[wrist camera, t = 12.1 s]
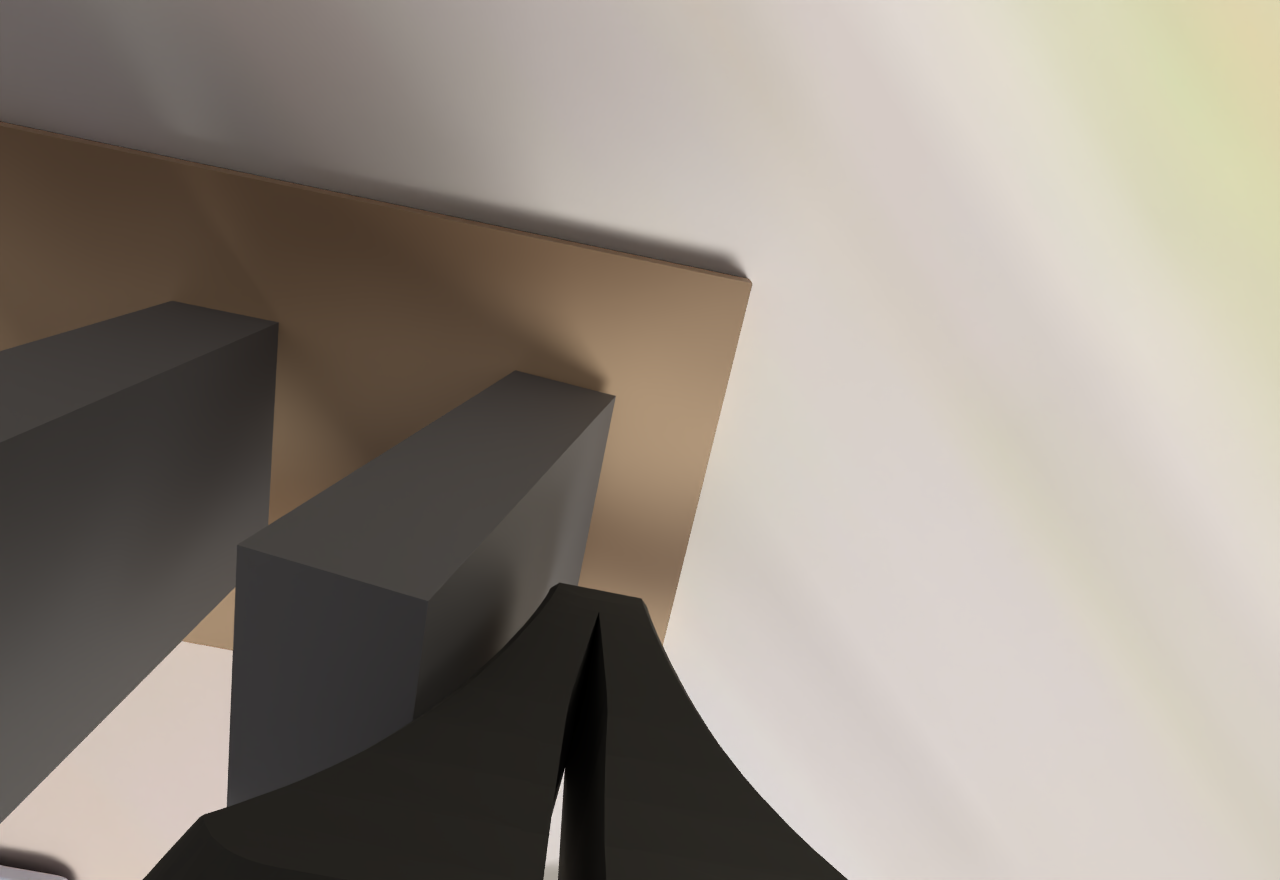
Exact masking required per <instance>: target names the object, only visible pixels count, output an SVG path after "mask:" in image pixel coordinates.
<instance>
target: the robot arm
mask: <svg viewBox="0 0 1280 880" xmlns="http://www.w3.org/2000/svg"><path fill="white" fill-rule="evenodd" d="M564 769H565V775H564V790H563V806H562V823H561V839H560V856H559V873H558V880H848V879H847V878H845V877H844V876H843V875H842V874H841V873H840V872H839V871H837V870H836V869H835V868H834V867H833V866H832V865H831V864H829V863H828V862H827V861H826V860H825V859H824V858H823V857H821V856H820V855H819V854H818V853H817V852H816V851H815V850H814V849H813V848H811V847H810V846H809V845H808V844H807V843H806V842H805V841H804V840H803V839H802V838H801V837H800V836H799V835H798V834H797V833H796V832H795V831H794V830H793V829H792V828H791V827H790V826H789V825H788V824H787V823H786V822H785V821H784V820H783V819H782V818H781V817H780V816H779V815H778V814H777V813H776V812H775V811H774V809H773V808H772V807H771V806H770V805H769V804H768V803H767V802H766V801H765V800H764V799H763V798H762V797H761V796H760V795H759V794H758V792H757V791H756V790H755V789H754V788H753V787H752V785H751V784H750V783H749V782H748V781H747V780H746V779H745V777H744V776H743V775H742V774H741V772H740V771H739V770H738V769H737V767H736V766H735V765H734V763H733V762H732V761H731V760H730V758H729V757H728V756H727V754H726V753H725V752H724V751H723V749H722V748H721V747H720V745H719V744H718V742H717V741H716V739H715V738H714V736H713V735H712V733H711V732H710V731H709V729H708V727H707V726H706V724H705V723H704V721H703V719H702V718H701V716H700V715H699V713H698V711H697V710H696V708H695V707H694V705H693V703H692V701H691V700H690V698H689V696H688V694H687V693H686V691H685V689H684V687H683V685H682V683H681V682H680V680H679V678H678V676H677V674H676V672H675V670H674V668H673V666H672V664H671V662H670V660H669V658H668V656H667V654H666V652H665V650H664V648H663V646H662V643H661V641H660V639H659V637H658V634H657V632H656V629H655V627H654V625H653V622H652V619H651V617H650V614H649V611H648V608H647V606H646V604H645V603H644V601H643V600H642V598H637V597H632V596H627V595H622V594H616V593H611V592H606V591H601V590H596V589H591V588H586V587H580V586H575V585H570V584H565V583H558V584H556V585H554V586H553V587H551V588H550V590H549V592H548V594H547V595H546V597H545V598H544V600H543V602H542V603H541V604H540V606H539V607H538V608H537V610H536V611H535V612H534V613H533V615H532V616H531V617H530V618H529V619H528V621H527V622H526V623H525V624H524V625H523V626H522V628H521V629H520V630H519V631H518V632H517V633H516V634H515V635H514V636H513V637H512V638H511V639H510V640H509V641H508V642H507V644H506V645H505V646H504V647H503V648H502V649H501V650H500V651H499V652H498V653H497V654H496V655H495V656H494V657H492V658H491V659H490V660H489V661H488V662H487V663H486V664H485V665H484V666H482V667H481V668H480V669H479V670H478V671H477V672H476V673H475V674H474V675H473V676H471V677H470V678H469V679H468V680H467V681H466V682H465V683H463V684H462V685H461V686H460V687H458V688H457V689H456V690H455V691H453V692H452V693H451V694H450V695H448V696H447V697H446V698H444V699H443V700H442V701H440V702H439V703H438V704H436V705H435V706H433V707H432V708H431V709H429V710H428V711H426V712H425V713H424V714H422V715H421V716H419V717H418V718H416V719H415V720H413V721H412V722H410V723H408V724H407V725H405V726H404V727H402V728H400V729H399V730H397V731H396V732H394V733H392V734H391V735H389V736H388V737H386V738H385V739H383V740H381V741H379V742H378V743H376V744H374V745H372V746H371V747H369V748H367V749H365V750H363V751H362V752H360V753H358V754H356V755H354V756H352V757H350V758H348V759H346V760H344V761H341V762H339V763H337V764H335V765H333V766H331V767H329V768H327V769H325V770H322V771H320V772H318V773H316V774H313V775H311V776H309V777H307V778H304V779H302V780H299V781H297V782H295V783H292V784H290V785H287V786H285V787H282V788H279V789H276V790H274V791H271V792H268V793H265V794H262V795H260V796H257V797H254V798H251V799H248V800H246V801H243V802H240V803H237V804H235V805H232V806H229V807H226V808H223V809H220V810H217V811H214V812H211V813H208V814H205V815H203V816H201V817H200V818H199V819H198V820H197V821H196V822H195V823H194V824H193V825H192V826H191V827H190V828H189V829H188V830H187V832H186V833H185V834H184V835H183V836H182V837H181V838H180V839H179V840H178V841H177V842H176V844H175V845H174V846H173V847H172V848H171V849H170V850H169V851H168V852H167V853H166V854H165V856H164V857H163V858H162V859H161V860H160V861H159V862H158V863H157V864H156V866H155V867H154V868H153V869H152V870H151V871H150V872H149V873H148V874H147V876H146V877H145V878H144V879H143V880H543V877H544V869H545V862H546V854H547V846H548V838H549V830H550V823H551V816H552V813H553V809H554V806H555V802H556V798H557V795H558V791H559V787H560V784H561V780H562V777H563V773H564ZM0 880H68V879H66V878H65V877H62V876H59V875H54V874H48V873H42V872H37V871H31V870H25V869H19V868H13V867H8V866H2V865H0Z"/></svg>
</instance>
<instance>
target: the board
mask: <svg viewBox="0 0 1280 880" xmlns="http://www.w3.org/2000/svg"><path fill="white" fill-rule="evenodd" d="M751 287H752V282H751V281H750V279H748V278H743V277H738V276H733V275H729V274H724V273H719V272H714V271H710V270H705V269H700V268H695V267H690V266H686V265H681V264H676V263H671V262H667V261H662V260H657V259H652V258H648V257H643V256H638V255H633V254H629V253H624V252H619V251H614V250H610V249H605V248H600V247H595V246H591V245H586V244H581V243H576V242H571V241H567V240H562V239H557V238H552V237H548V236H543V235H538V234H533V233H529V232H524V231H519V230H514V229H510V228H505V227H500V226H495V225H491V224H486V223H481V222H476V221H472V220H467V219H462V218H457V217H452V216H448V215H443V214H438V213H433V212H429V211H424V210H419V209H414V208H410V207H405V206H400V205H395V204H391V203H386V202H381V201H376V200H372V199H367V198H362V197H357V196H353V195H348V194H343V193H338V192H333V191H329V190H324V189H319V188H314V187H310V186H305V185H300V184H295V183H291V182H286V181H281V180H276V179H272V178H267V177H262V176H257V175H253V174H248V173H243V172H238V171H234V170H229V169H224V168H219V167H214V166H210V165H205V164H200V163H195V162H191V161H186V160H181V159H176V158H172V157H167V156H162V155H157V154H153V153H148V152H143V151H138V150H134V149H129V148H124V147H119V146H115V145H110V144H105V143H100V142H95V141H91V140H86V139H81V138H76V137H72V136H67V135H62V134H57V133H53V132H48V131H43V130H38V129H34V128H29V127H24V126H19V125H15V124H10V123H5V122H0V351H2V350H6V349H9V348H12V347H16V346H19V345H23V344H26V343H30V342H33V341H36V340H40V339H43V338H47V337H50V336H53V335H57V334H60V333H64V332H67V331H70V330H74V329H77V328H81V327H84V326H87V325H91V324H94V323H98V322H101V321H105V320H108V319H111V318H115V317H118V316H122V315H125V314H128V313H132V312H135V311H139V310H142V309H145V308H149V307H152V306H156V305H159V304H162V303H166V302H169V301H176V302H181V303H186V304H191V305H196V306H201V307H206V308H210V309H215V310H220V311H225V312H230V313H235V314H240V315H245V316H250V317H255V318H260V319H265V320H270V321H275V322H279V330H278V349H277V368H276V387H275V406H274V425H273V444H272V463H271V482H270V501H269V520H268V525H269V524H271V523H273V522H274V521H276V520H277V519H279V518H281V517H282V516H284V515H285V514H287V513H289V512H290V511H292V510H293V509H295V508H297V507H298V506H300V505H301V504H303V503H304V502H306V501H308V500H309V499H311V498H312V497H314V496H316V495H317V494H319V493H320V492H322V491H324V490H325V489H327V488H328V487H330V486H332V485H333V484H335V483H336V482H338V481H340V480H341V479H343V478H344V477H346V476H348V475H349V474H351V473H352V472H354V471H356V470H357V469H359V468H360V467H362V466H363V465H365V464H367V463H368V462H370V461H371V460H373V459H375V458H376V457H378V456H379V455H381V454H383V453H384V452H386V451H387V450H389V449H391V448H392V447H394V446H395V445H397V444H399V443H400V442H402V441H403V440H405V439H407V438H408V437H410V436H411V435H413V434H414V433H416V432H418V431H419V430H421V429H422V428H424V427H426V426H427V425H429V424H430V423H432V422H434V421H435V420H437V419H438V418H440V417H442V416H443V415H445V414H446V413H448V412H450V411H451V410H453V409H454V408H456V407H458V406H459V405H461V404H462V403H464V402H466V401H467V400H469V399H470V398H472V397H473V396H475V395H477V394H478V393H480V392H481V391H483V390H485V389H486V388H488V387H489V386H491V385H493V384H494V383H496V382H497V381H499V380H501V379H502V378H504V377H505V376H507V375H509V374H510V373H512V372H513V371H515V370H516V371H520V372H524V373H528V374H532V375H536V376H540V377H544V378H548V379H551V380H555V381H559V382H563V383H567V384H571V385H575V386H579V387H583V388H587V389H591V390H595V391H599V392H603V393H607V394H610V395H614V396H616V398H615V403H614V408H613V413H612V418H611V423H610V428H609V433H608V438H607V443H606V448H605V453H604V458H603V463H602V468H601V473H600V478H599V483H598V488H597V493H596V498H595V503H594V508H593V513H592V518H591V523H590V528H589V533H588V538H587V543H586V548H585V553H584V557H583V562H582V567H581V572H580V577H579V582H578V586H580V587H586V588H591V589H596V590H601V591H606V592H611V593H616V594H622V595H627V596H632V597H637V598H642V600H643V601H644V603H645V604H646V606H647V608H648V611H649V614H650V617H651V619H652V622H653V625H654V627H655V629H656V632H657V634H658V637H659V639H660V641H661V643H662V646H663V642H664V638H665V634H666V630H667V626H668V622H669V618H670V614H671V610H672V606H673V602H674V597H675V593H676V589H677V585H678V581H679V577H680V573H681V569H682V565H683V561H684V557H685V553H686V549H687V545H688V541H689V537H690V533H691V529H692V525H693V521H694V517H695V513H696V509H697V505H698V501H699V497H700V493H701V489H702V485H703V481H704V477H705V473H706V468H707V464H708V460H709V456H710V452H711V448H712V444H713V440H714V436H715V432H716V428H717V424H718V420H719V416H720V412H721V408H722V404H723V400H724V396H725V392H726V388H727V384H728V380H729V376H730V372H731V368H732V364H733V360H734V356H735V352H736V348H737V344H738V340H739V335H740V331H741V327H742V323H743V319H744V315H745V311H746V307H747V303H748V299H749V295H750V291H751ZM234 611H235V588H234V589H233V590H232V591H231V592H230V593H229V594H228V595H227V596H226V597H225V598H224V599H223V600H222V601H221V602H220V603H219V604H218V605H217V606H216V607H215V608H214V609H213V610H212V611H211V612H210V613H209V614H208V615H207V616H206V617H205V618H204V619H203V620H202V621H201V622H200V623H199V624H198V625H197V626H196V627H195V628H194V629H193V630H192V631H191V632H190V633H189V634H188V635H187V636H186V637H185V638H184V639H183V640H182V641H184V642H190V643H195V644H200V645H206V646H211V647H217V648H222V649H227V650H233V637H234Z"/></svg>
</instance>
